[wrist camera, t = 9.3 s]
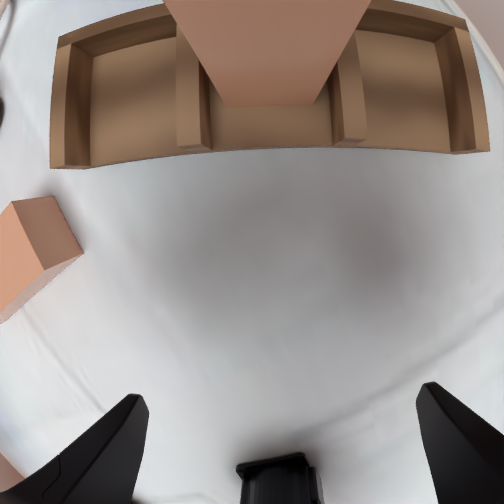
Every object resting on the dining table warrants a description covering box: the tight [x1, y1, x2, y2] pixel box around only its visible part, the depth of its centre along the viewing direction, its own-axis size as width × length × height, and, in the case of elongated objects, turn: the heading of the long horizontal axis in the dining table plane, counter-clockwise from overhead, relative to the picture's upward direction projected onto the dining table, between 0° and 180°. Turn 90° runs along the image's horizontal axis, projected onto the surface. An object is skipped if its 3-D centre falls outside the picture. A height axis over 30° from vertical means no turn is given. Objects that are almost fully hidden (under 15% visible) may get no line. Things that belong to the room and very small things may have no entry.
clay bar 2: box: [163, 0, 371, 108], centre depth 10 cm, size 5×5×13 cm
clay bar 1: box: [0, 196, 84, 324], centre depth 19 cm, size 13×5×5 cm, turn 121°
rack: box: [50, 0, 490, 169], centre depth 15 cm, size 9×26×4 cm, turn 93°
